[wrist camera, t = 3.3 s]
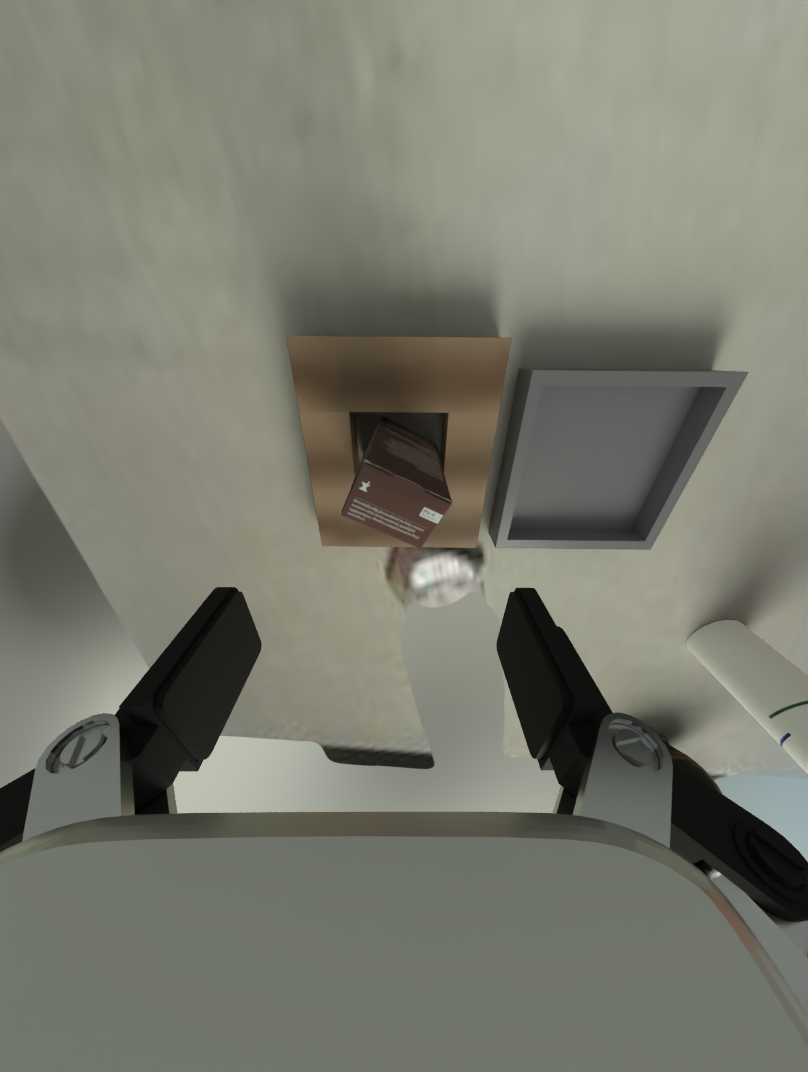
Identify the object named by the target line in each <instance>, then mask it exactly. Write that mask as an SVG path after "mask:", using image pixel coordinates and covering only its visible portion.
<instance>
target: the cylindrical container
mask: <svg viewBox="0 0 808 1072" xmlns="http://www.w3.org/2000/svg"><path fill="white" fill-rule="evenodd" d="M687 648H688V649H689V650H690V651H691V652H692V653H693V654H694V655H695V656H696V657H697V658H698V660H699V661H700V662H701V663H702V664H703V665H704V666H705V667H706V668H707V669H708V670H709V671H710V672H711V673H712V674H713V675H714V676H715V677H716V678H717V679H718V680H719V682H720V683H721V684H722V685H723V686H724V687H725V688H726V689H727V690H728V691H729V692H730V693H731V694H732V695H733V696H734V697H735V698H736V699H737V700H738V701H739V702H740V703H741V704H742V706H743V707H744V708H745V709H746V710H747V711H748V712H749V713H750V714H751V715H752V716H753V717H754V718H755V719H756V720H757V721H758V722H759V723H760V724H761V725H762V726H763V727H764V728H765V729H766V730H767V732H768V733H769V734H770V735H771V736H772V737H773V738H774V739H775V740H776V741H777V742H778V743H779V744H780V745H781V746H782V747H783V748H784V749H785V750H786V751H787V752H788V753H789V754H790V756H791V757H792V758H793V759H794V760H795V761H796V762H797V763H798V764H799V765H800V766H801V767H802V768H803V769H804V770H805V771H806V772H807V773H808V676H807V675H806V674H805V673H803V672H802V671H801V670H800V669H798V668H797V667H796V666H795V665H793V664H792V663H791V662H790V661H788V660H787V659H786V658H785V657H783V656H782V655H781V654H780V653H778V652H777V651H776V650H775V649H773V648H772V647H771V646H770V645H768V644H767V643H766V642H765V641H764V640H762V639H761V638H760V637H759V636H757V635H756V634H755V633H754V632H752V631H751V630H750V629H749V628H747V627H746V626H745V625H744V624H742V623H741V622H739V621H736V620H721V621H717V622H713V623H710V624H707V625H705V626H703V627H701V628H700V629H698V630H697V631H695V632H694V633H693V634H692V635H691V636H690V637H689V639H688V640H687Z"/></svg>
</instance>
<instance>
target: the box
mask: <svg viewBox="0 0 808 1072" xmlns="http://www.w3.org/2000/svg"><path fill="white" fill-rule="evenodd" d="M451 505H452V499H451V497H450V493H449V489H448V486H447V482H446V479H445V475H444V472H443V468H442V465H441V461H440V458H439V454H438V451H437V447H436V445H435V444H434V443H432V442H430V441H428V440H426V439H425V438H423V437H421V436H419V435H417V434H415V433H413V432H412V431H410V430H408V429H406V428H404V427H402V426H400V425H398V424H396V423H394V422H393V421H391V420H389V419H387V418H385V417H383V416H381V418H380V420H379V422H378V423H377V426H376V429H375V431H374V433H373V435H372V438H371V440H370V442H369V444H368V447H367V449H366V451H365V453H364V455H363V458H362V461H361V463H360V466H359V468H358V471H357V473H356V475H355V478H354V481H353V483H352V486H351V489H350V491H349V494H348V496H347V499H346V501H345V504H344V506H343V508H342V512H341V515H342V516H344V517H346V518H348V519H351V520H353V521H356V522H358V523H360V524H363V525H365V526H367V527H370V528H372V529H374V530H377V531H379V532H382V533H384V534H386V535H389V536H391V537H394V538H396V539H398V540H401V541H403V542H405V543H408V544H410V545H412V546H415V547H417V548H419V549H421V548H422V546H423V545H424V544H425V542H426V541H427V539H428V538H429V536H430V535H431V533H432V532H433V530H434V529H435V527H436V526H437V524H438V523H439V522H440V520H441V519H442V517H443V516H444V515H445V513H446V512H447V511H448V509H449V508H450V506H451Z"/></svg>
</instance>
